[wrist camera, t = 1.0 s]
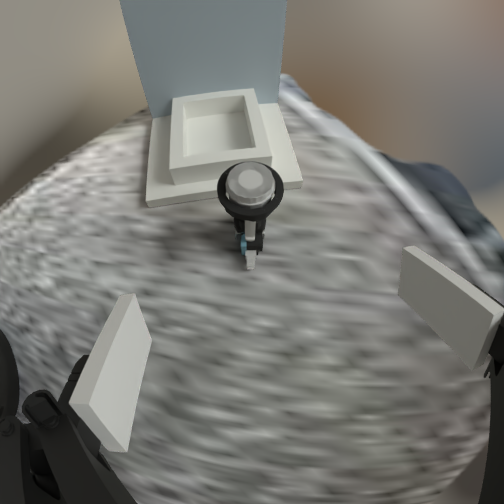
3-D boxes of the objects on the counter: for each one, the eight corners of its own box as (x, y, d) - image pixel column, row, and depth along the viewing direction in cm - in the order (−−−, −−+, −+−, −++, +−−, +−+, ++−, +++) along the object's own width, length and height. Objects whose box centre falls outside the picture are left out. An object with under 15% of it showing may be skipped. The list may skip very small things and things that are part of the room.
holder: (149, 207, 32) (73, 48, 12) (155, 119, 38) (121, -8, 19) (301, 188, 34) (342, 16, 14) (274, 104, 40) (285, -27, 20)
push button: (276, 271, 30) (288, 225, 20) (223, 271, 30) (212, 225, 20) (273, 214, 32) (282, 154, 23) (225, 214, 32) (217, 154, 23)
